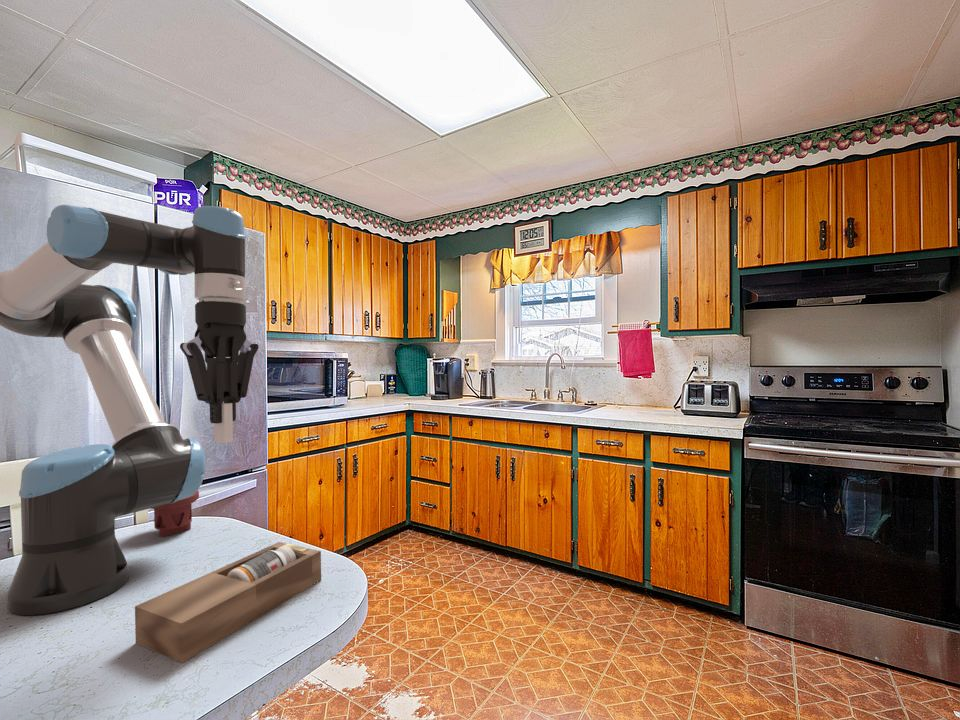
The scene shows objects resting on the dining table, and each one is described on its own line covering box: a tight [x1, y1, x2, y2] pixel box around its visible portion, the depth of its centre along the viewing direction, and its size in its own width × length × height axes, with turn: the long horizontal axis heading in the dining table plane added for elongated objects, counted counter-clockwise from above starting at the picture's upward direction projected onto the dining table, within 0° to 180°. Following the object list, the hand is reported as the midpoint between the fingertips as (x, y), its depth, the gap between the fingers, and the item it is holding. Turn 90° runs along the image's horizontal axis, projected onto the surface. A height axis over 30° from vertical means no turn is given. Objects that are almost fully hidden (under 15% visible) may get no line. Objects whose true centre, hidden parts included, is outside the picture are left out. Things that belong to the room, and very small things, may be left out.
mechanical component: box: [149, 489, 200, 538], centre depth 105 cm, size 12×10×10 cm
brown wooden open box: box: [134, 541, 322, 663], centre depth 73 cm, size 10×24×5 cm, turn 155°
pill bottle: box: [227, 546, 297, 583], centre depth 77 cm, size 6×6×10 cm
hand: (223, 441), depth 80 cm, fingers closed
